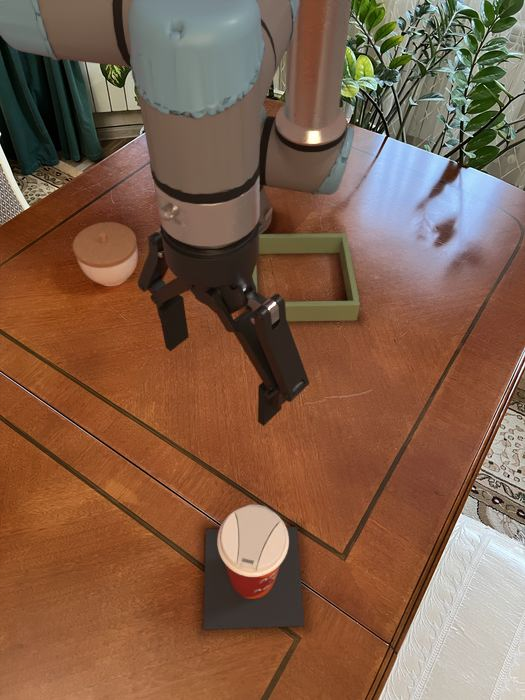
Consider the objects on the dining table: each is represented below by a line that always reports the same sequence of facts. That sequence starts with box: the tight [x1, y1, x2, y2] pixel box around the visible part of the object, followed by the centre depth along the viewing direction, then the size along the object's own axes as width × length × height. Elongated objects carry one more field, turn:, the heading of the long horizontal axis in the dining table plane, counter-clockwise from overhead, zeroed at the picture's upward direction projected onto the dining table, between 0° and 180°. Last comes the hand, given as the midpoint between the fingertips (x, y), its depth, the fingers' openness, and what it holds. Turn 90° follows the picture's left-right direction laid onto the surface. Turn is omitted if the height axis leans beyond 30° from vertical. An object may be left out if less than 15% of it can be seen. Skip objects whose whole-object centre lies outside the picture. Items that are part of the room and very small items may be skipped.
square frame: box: [252, 232, 361, 322], centre depth 102 cm, size 18×18×4 cm
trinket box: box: [72, 221, 139, 287], centre depth 100 cm, size 11×11×9 cm
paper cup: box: [217, 504, 289, 599], centre depth 66 cm, size 8×8×14 cm
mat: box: [202, 526, 305, 631], centre depth 72 cm, size 12×12×1 cm
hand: (221, 377), depth 60 cm, fingers open, 13 cm apart
